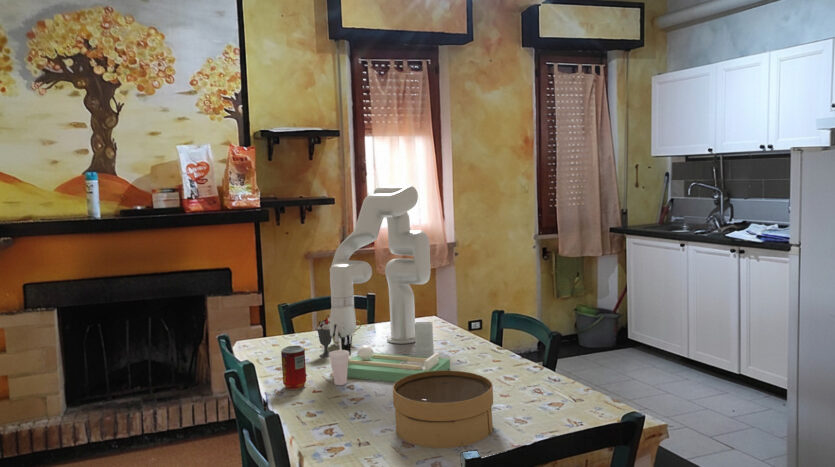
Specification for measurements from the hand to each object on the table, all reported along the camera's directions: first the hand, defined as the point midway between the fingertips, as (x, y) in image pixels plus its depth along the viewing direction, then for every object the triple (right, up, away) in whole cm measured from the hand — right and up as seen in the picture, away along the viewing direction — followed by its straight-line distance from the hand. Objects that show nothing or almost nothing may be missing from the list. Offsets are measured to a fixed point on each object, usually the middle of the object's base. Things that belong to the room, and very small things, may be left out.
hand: (345, 355), depth 214 cm
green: (+16, -4, -7) cm, 18 cm away
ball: (+7, +1, -3) cm, 8 cm away
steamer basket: (+31, -8, -54) cm, 63 cm away
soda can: (-13, -6, -18) cm, 23 cm away
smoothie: (0, -6, -16) cm, 17 cm away
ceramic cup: (-3, -2, +31) cm, 31 cm away
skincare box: (+27, -2, +9) cm, 28 cm away
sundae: (-9, -3, +16) cm, 19 cm away
